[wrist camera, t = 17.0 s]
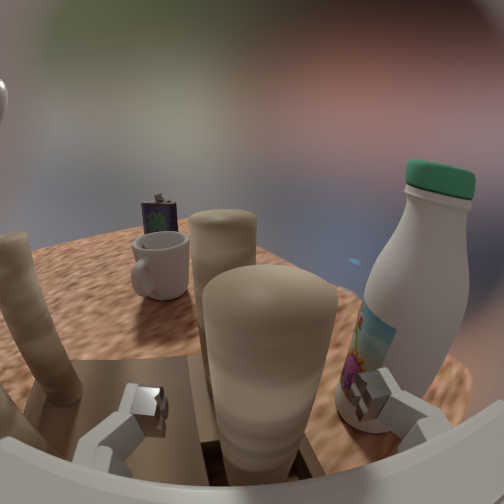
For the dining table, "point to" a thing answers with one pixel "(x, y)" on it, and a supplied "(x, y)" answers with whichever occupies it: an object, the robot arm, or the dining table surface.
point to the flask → (159, 215)
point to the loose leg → (265, 364)
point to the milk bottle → (414, 288)
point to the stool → (125, 366)
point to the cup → (161, 265)
